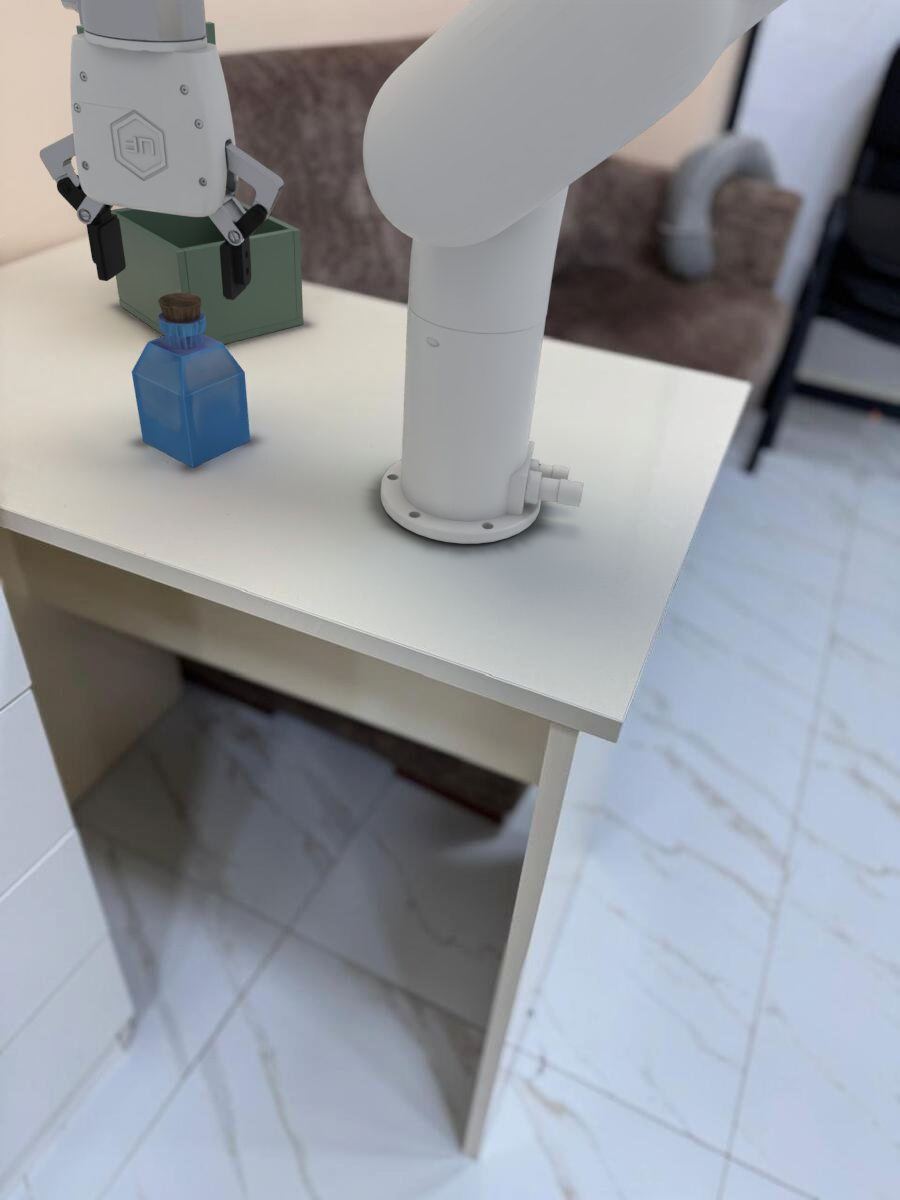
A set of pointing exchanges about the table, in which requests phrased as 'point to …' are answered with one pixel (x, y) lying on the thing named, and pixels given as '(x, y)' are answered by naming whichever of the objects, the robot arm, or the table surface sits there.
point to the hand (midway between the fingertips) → (173, 284)
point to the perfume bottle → (189, 387)
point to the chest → (210, 273)
